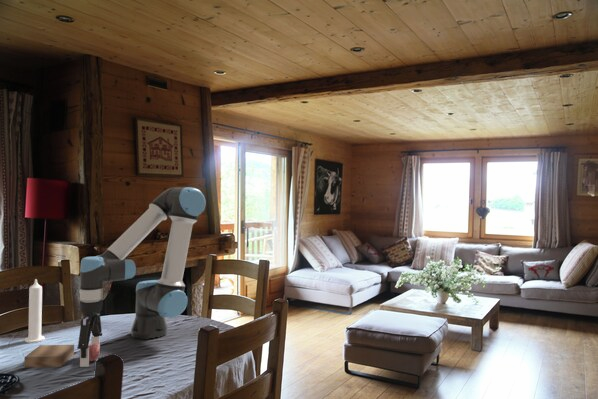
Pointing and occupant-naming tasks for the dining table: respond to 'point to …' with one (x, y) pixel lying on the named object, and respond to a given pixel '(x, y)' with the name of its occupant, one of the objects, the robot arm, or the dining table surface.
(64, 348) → the walnut base
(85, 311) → the robot arm
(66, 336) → the dining table surface
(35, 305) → the candle
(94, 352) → the flower
